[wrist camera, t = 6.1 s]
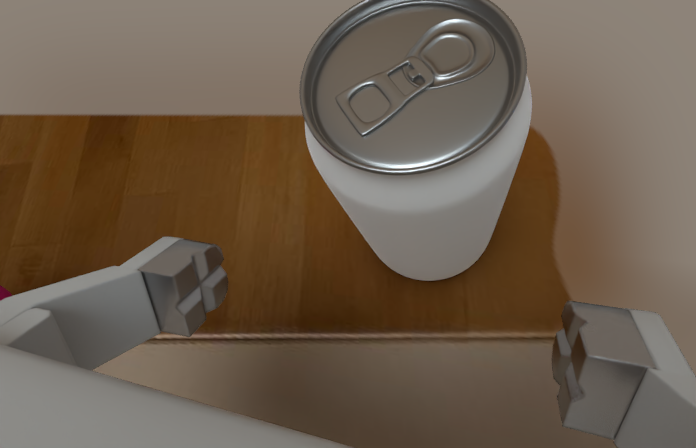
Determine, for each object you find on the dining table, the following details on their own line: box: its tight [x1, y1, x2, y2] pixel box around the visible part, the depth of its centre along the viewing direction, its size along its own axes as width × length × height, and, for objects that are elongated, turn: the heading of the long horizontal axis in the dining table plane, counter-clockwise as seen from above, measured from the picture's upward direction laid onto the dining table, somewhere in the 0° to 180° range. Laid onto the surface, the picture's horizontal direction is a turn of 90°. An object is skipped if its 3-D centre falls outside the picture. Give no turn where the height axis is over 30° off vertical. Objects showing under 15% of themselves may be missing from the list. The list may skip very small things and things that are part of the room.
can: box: [300, 0, 532, 281], centre depth 15 cm, size 6×6×12 cm
